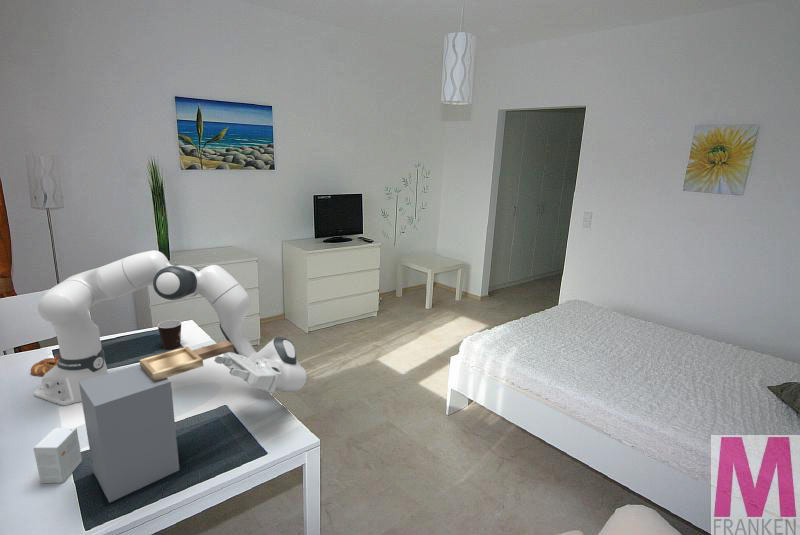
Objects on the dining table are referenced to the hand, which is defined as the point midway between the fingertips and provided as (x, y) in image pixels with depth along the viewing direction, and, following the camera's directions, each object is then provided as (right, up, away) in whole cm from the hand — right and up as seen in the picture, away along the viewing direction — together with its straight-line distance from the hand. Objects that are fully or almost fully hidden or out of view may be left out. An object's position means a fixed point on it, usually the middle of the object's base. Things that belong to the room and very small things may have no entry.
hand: (223, 365), depth 127 cm
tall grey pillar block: (-18, -25, -11) cm, 33 cm away
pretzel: (-76, -10, +35) cm, 85 cm away
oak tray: (-6, +3, -7) cm, 10 cm away
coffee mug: (-44, -5, +58) cm, 73 cm away
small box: (-36, -25, -13) cm, 46 cm away
